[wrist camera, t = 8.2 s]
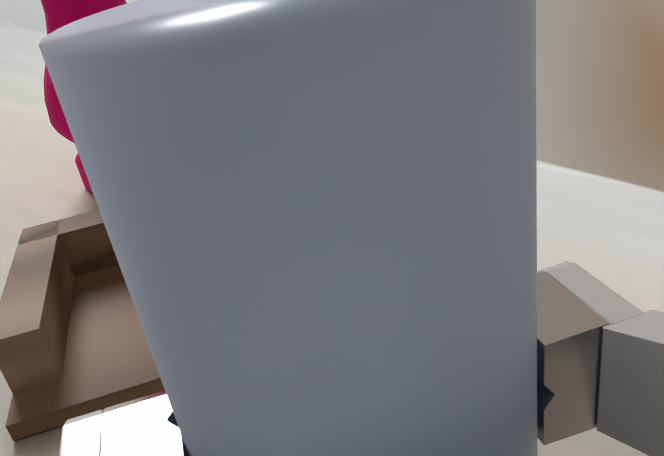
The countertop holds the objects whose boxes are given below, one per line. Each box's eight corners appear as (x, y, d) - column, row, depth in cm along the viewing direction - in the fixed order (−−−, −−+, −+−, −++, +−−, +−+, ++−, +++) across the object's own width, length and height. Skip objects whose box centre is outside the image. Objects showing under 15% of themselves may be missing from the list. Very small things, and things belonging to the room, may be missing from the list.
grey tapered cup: (515, 894, 9) (474, 33, 3) (239, 763, 11) (-81, 70, 5) (552, 590, 13) (561, -69, 7) (339, 531, 14) (213, -26, 9)
